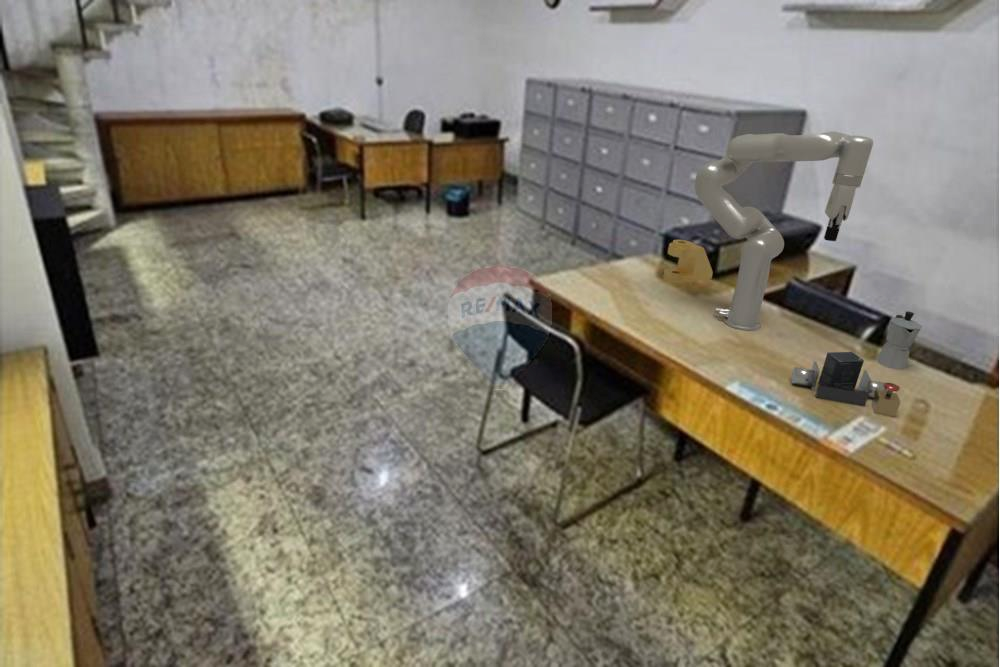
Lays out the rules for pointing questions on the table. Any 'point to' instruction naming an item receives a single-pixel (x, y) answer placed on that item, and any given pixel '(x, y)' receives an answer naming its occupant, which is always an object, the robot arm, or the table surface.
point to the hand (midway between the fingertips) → (829, 239)
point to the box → (841, 369)
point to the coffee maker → (899, 341)
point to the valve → (886, 400)
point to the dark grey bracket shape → (835, 392)
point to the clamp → (688, 263)
